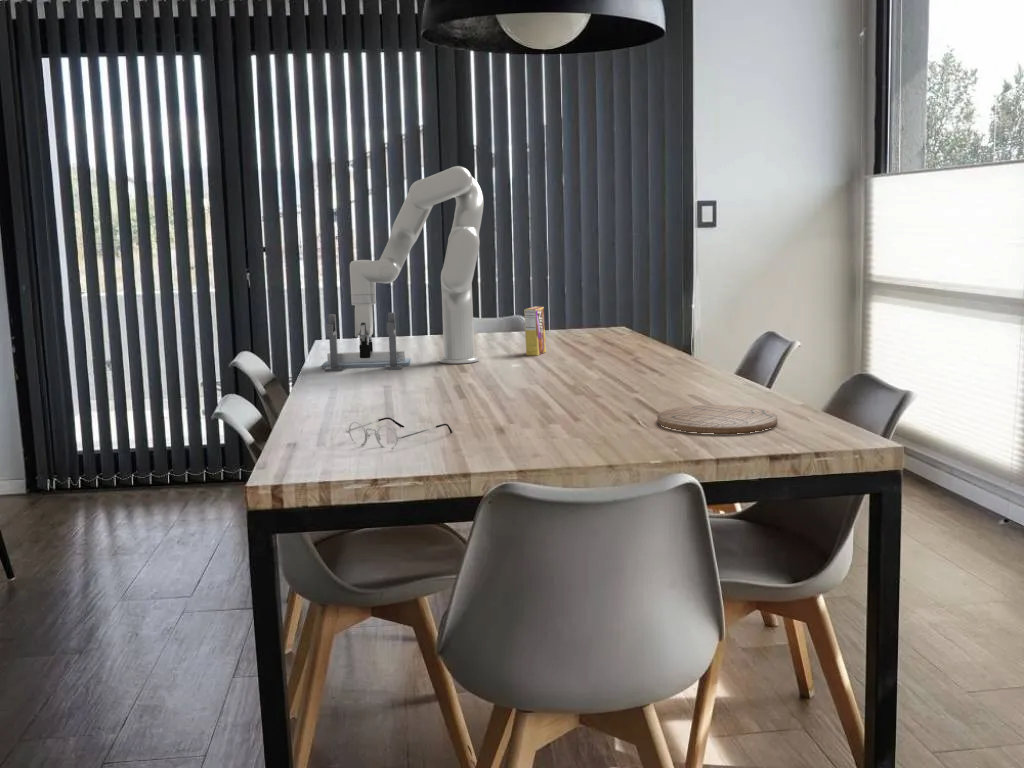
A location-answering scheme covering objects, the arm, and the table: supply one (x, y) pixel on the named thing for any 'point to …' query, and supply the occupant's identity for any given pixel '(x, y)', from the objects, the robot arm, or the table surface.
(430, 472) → the table surface
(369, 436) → the eyeglasses
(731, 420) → the trivet
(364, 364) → the rubber mat
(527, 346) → the candy box
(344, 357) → the steel rail
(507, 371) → the table surface
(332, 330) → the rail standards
